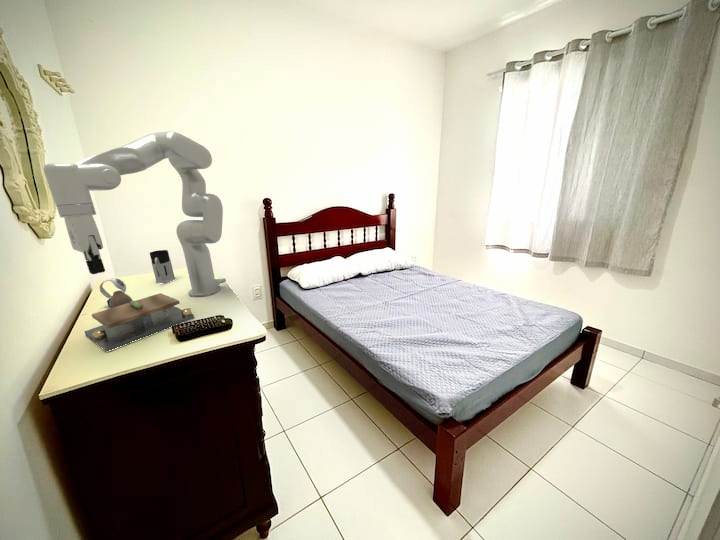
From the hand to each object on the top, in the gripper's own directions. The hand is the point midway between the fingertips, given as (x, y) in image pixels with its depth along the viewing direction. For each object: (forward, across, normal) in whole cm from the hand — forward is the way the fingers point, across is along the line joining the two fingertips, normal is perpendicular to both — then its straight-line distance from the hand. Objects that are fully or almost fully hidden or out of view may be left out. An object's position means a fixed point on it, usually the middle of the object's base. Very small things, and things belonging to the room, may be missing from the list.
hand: (97, 272), depth 86 cm
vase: (+22, -19, +8) cm, 30 cm away
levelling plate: (+15, 0, +7) cm, 17 cm away
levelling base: (+21, 0, +7) cm, 22 cm away
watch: (+22, -31, +10) cm, 39 cm away
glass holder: (+22, -44, +32) cm, 59 cm away
